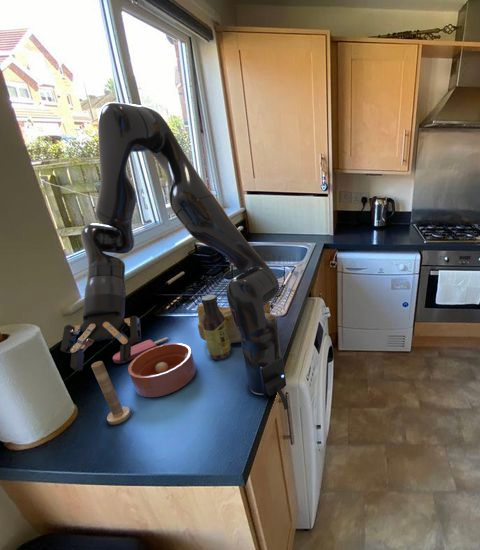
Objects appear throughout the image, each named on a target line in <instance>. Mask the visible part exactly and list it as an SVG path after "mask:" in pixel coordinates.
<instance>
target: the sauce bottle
mask: <svg viewBox="0 0 480 550" xmlns="http://www.w3.org/2000/svg"><path fill="white" fill-rule="evenodd" d="M200 302H201V304H203V307H204V312H205V313H204V315H203V318H202V323H203V329H204V334H205V338H206V341H205V343H206V346H207V350H208V354H209V356H210V358H211V359H212V360H215V361H218V360H223V359H225V358H227V357H229V356H230V355H231V353H232V349H231V348H232V346H231V343H230V340H229V335H228V330H227V325H226V320H225V317H224V316H223V314H222V313H221V312H220V310H219V307H218V306H219V304H218V297H217V295H216V294H206V295H204V296H202V297H201V298H200Z"/></svg>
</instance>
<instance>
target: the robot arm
mask: <svg viewBox="0 0 480 550" xmlns="http://www.w3.org/2000/svg"><path fill="white" fill-rule="evenodd" d="M97 123H98V124H97V134H98V135H97V136H98V154H99V155H98V156H99V172H100V173H99V174H100V180H99V181H100V183H99V184H100V185H99V192H98V195H97V196H98V197H97V202H96V207H95V217H96V219H97V221H99V222H100V223H98V222H97V223H96V222H92V223H91V222H90V223H88V224H86V225H85V226H83V228H82V230H81V232H80V239H81V244H82V246H83V249H84V252H85V255H86V258H87V264H88V265H87V278H86V279H87V280H86V284H85V288H84V296H83V309H82V322H81V324H79V325H77V324H76V325H71V324H66V325H65V326H64V327H63V333H62V338H61V343H60V351H61V352H64V353H68V354H70V355H71V357H70V368H71V369H72V370H73V371H76V372H79V371H80V372H81V371H83V369H84V359H85V353H84V352H85V351H86V350H87V349H88V347H90V346H92V345H93V343H94V342H102V341H105V340H114V338H115V339H116V340H117V341H119V343H121V345H119V352H120V362H123V363H122V364H124V363H128V362H129V361H128V359H130V357H131V347H132V346H133V344H136V343H140V342H142V329H141V319H140V318H139V317H138V316H136V315H131V316H130V317H127V318H125V313H126V297H127V296H126V295H127V293H126V284H125V283H126V282H125V277H126V265H125V262H124V260H122V259H121V258H119V257H116V256H112V255H109V254H107V253H110V254H120V255H121V254H122V255H123V254H128V253H129V252H131V251H132V250H133V249H134V247H135V237H134V232H133V216H134V213H135V209H136V204H137V191H136V188H135V186H134V184H133V181H132V180H131V178H130V176H129V174H128V170H127V167H128V166H127V164H128V161H129V158H130V156H131V154H132V153H139V152H140V153H150V154H151V155H152V156H153V158H154V159H155V160H156V162H157V163H158V165H159V166H160V167H161V169H162V170H163V172H164V174H165V176H166V180H167V190H168V200H169V206H170V208H171V210H172V212H173V213H174V215H175V216H176V218H177V219H178V221H179V223H181V225H182V226H183V227H184V228H185V230H186V231H187V232H188V234H189V235H191V237H193V238H194V239H195V240H196V241H198V242H200V243H201V244H204V245H205V246H207V247H209V248H210V249H212V250H214V251H216V252H218V253H219V254H221V255H223V256H224V257H225V258H226V259H228V260H229V261H230V263H232V265H233V266H234V267H235V268H236V270H237V271H238V272H239V274H238V275H236V276H234V277H233V278H231V279H230V280H229V282H228V283H227V286H226V297H227V302H228V307H230V310H231V314H232V318H233V322H234V324H235V326H236V328H237V329H238V331H239V334H240V340H241V342H240V343H241V345H240V346H241V350H242V355H243V360H244V361H243V362H244V366H245V371H246V377H247V382H248V388H249V392H250V393H251V394H253V395H254V396H258V397H264V398H265V399H268V398H270V397H272V396H273V395H275V394H276V393H277V394H278V395H279V397H280V399H281V402H282V406H283V409H284V411H285V410H288V409H289V405H288V400H287V398H286V396H285V394H284V392H283V391H282V390H283V389H284V388H285V387H286V386H287V379H286V373H285V364H284V357H282V349H281V340H280V334H279V326H278V319H277V318H276V316H275V315H274V314H272V313H270V314H269V313H264V307H263V306H264V305H266V304H267V303H268V302H269V303H270V301H272V300H273V299H275V298H276V297H277V295H278V294H279V291H280V283H279V279H278V278H277V276H276V274H275V273H274V271H273V270H272V269H271V268H270V267H269V265H268V264H267V263H266V261H264V260H263V258H262V257H261V256H260V255H259V254H258V253H257V251H255V249H254V248H253V247H252V246H251V244H250V243H249V242H248V241H247V240H246V238H245V237H244V235H243V234H242V232H241V231H239V228H237V227H236V225H235V224H234V223H233V221H232V219H231V218H230V217H229V215H228V213H227V212H226V211H225V209H224V208H223V206H222V205H221V203H220V202H219V201H218V199H217V197H216V196H215V195H214V194H213V192H212V191H211V190H210V189H209V187H208V186H207V185H206V183H205V182H204V180H203V179H202V177H201V176H200V174H199V173H198V171H197V170H196V169H195V167H194V165H193V164H192V163H191V161H190V160H189V158H188V157H187V155H186V153H185V152H184V150H183V148H182V146H181V145H180V143H179V141H178V140H177V137H176V136H175V134H174V132H173V130H172V129H171V128H170V125H169V124H168V122H167V121H166V119H165V118H164V117H163V116H162V115H161V114H160V113H159V112H158V111H157V110H156V109H153V108H151V107H148V106H145V105H139V104H132V103H124V102H123V103H122V102H115V101H113V102H107V103H105V104H104V105H103V106H102V107H101V109H100V111H99V115H98V122H97ZM126 325H127V326H128V327H130V328H129V329H130V337H128V336H127V335H126V334H125V333H124V332H123V331H122V330H123V329H124V327H125V326H126ZM80 332H82V334H81V335H80V336H79V337H78V339H77V335H79V334H80Z"/></svg>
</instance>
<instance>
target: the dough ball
mask: <svg viewBox="0 0 480 550" xmlns="http://www.w3.org/2000/svg"><path fill="white" fill-rule="evenodd" d="M167 369H168V365H167V363H165V362H160V363H158V364H157V365H156V367H155V370H156V372H158V373H163V372H165V371H166V370H167Z"/></svg>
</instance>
